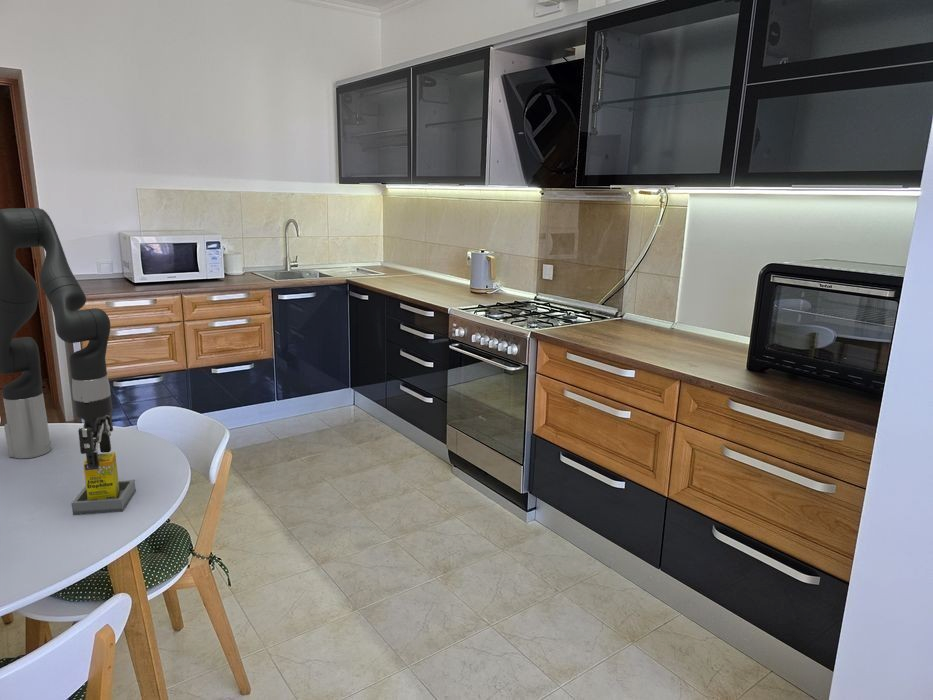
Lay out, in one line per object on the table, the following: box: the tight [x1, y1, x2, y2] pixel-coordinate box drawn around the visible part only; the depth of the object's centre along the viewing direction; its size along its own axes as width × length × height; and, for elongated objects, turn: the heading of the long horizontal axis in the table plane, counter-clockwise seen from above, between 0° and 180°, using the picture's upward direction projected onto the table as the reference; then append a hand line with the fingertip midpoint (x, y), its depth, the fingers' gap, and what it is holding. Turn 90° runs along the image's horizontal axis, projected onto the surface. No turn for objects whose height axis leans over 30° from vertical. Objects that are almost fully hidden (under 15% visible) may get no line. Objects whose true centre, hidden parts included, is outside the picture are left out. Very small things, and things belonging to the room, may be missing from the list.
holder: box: [71, 479, 137, 516], centre depth 153 cm, size 11×11×3 cm
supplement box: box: [83, 451, 119, 501], centre depth 152 cm, size 6×6×11 cm
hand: (99, 459), depth 151 cm, fingers open, 8 cm apart
